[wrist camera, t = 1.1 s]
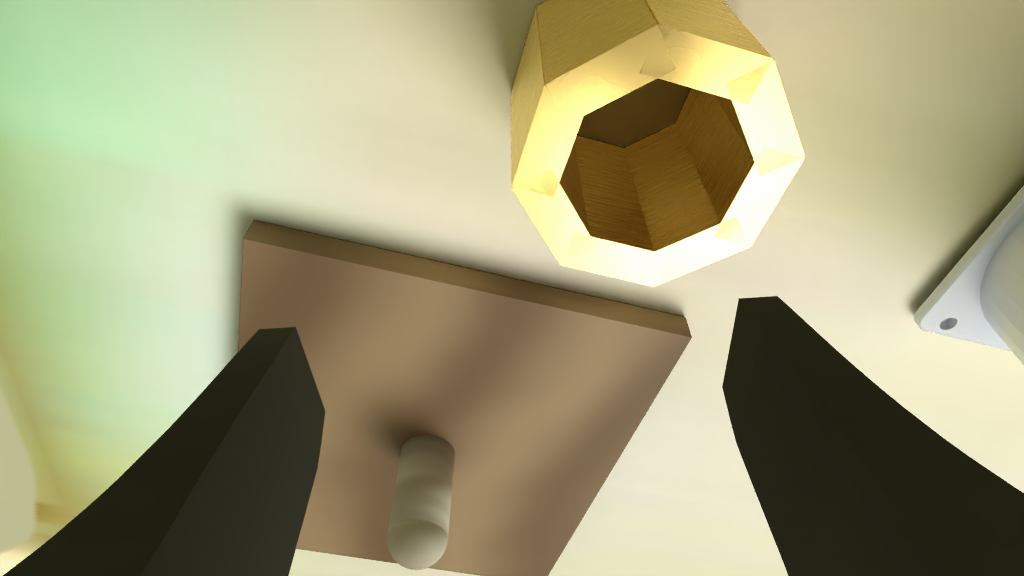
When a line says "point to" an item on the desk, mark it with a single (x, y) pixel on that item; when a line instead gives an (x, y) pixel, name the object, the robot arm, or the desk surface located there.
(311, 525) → the post stand
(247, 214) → the desk surface
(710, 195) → the brass bushing
